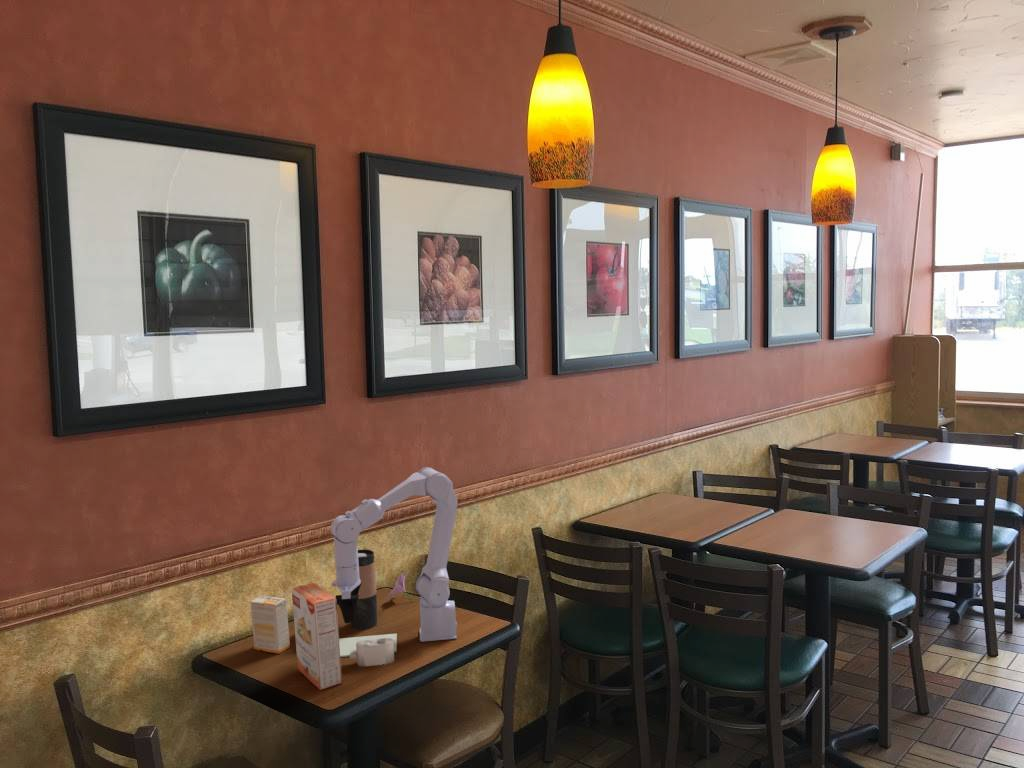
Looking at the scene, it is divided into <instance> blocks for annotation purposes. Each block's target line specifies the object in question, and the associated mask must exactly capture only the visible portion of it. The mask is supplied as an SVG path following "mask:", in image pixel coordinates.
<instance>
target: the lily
mask: <svg viewBox="0 0 1024 768" xmlns="http://www.w3.org/2000/svg"><path fill="white" fill-rule="evenodd" d="M410 571H412V568H410V569H409V570H408V571H407V572H406V573H405V575H404V573H403V572H401V574H400V575H399V576H398V578H397V580H396V582H393V584H392V586H394V588H392V590H391V591H390V593H389V594H388V595H387V596H386V598H385V599H384V601H383V603H381V605H384V604H385V602H386V601H387V600H388V599H389V597H391V596H392V598H394V597H395V596H396V594H400V593H405V594H406V595H407V596H408V598H409V599H410V600H411V602H412V603H414V601H413V598H412V597H411V595H409V593H408V592H407V591H406V588H405V587H406V586H405V581H406V578H407V576H408V574H409V573H410Z"/></svg>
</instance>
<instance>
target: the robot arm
mask: <svg viewBox="0 0 1024 768" xmlns="http://www.w3.org/2000/svg"><path fill="white" fill-rule="evenodd" d="M453 486H454V485H453V480H451V479H450V478H449V477H448V476H447V475H446V474H444V473H442V472H440V471H437V470H435V469H434V468H433V467H430V466H429V467H423V468H420V469H419V470H418V472H417V471H416V472H414V473H412V474H411V475H409V477H408V478H407V479H405V480H404V481H401V482H400V483H399V484H398V485H396V486H395V487H394V488H392V489H391V490H389V491H388V492H386V493H385V494H384V495H382V496H381V497H379V498H378V499H375V498H369V499H363V500H362V501H361V504H360V505H358V506H356V507H355V508H354V509H352V510H347V511H345V515H344V514H343V515H341V514H340V515H338V516H337V517H335V518H334V519H333V521H332V522H331V525H330V527H329V531H330V533H331V534H332V536H334V537H333V544H334V547H333V552H334V554H333V555H334V565H335V578H336V580H333V581H331V586H332V587H336V588H337V590H339V591H340V592H341V594H338V595H335V597H334V598H336V603H337V605H338V607H339V609H340V612H341V615H342V620H343V621H344V624H351V623H353V622H354V616H355V611H356V607H357V600H358V598H359V595H358V592H359V589H360V586H361V580H360V577H359V562H358V550H359V548H358V542H357V539H358V538H359V535H360V533H361V532H363V531H365V530H366V529H368V528H369V527H370V526H373V525H374V524H375V523H377V522H379V521H380V520H381V519H383V518H384V515H385V512H386V511H387V510H389V509H390V508H392V507H394V506H396V505H398V504H399V503H401V502H402V501H404V500H406V499H408V498H410V497H411V496H419V497H426V496H427V495H428V496H429V497H430V499H431V500H432V501H433V503H435V504H436V509H435V515H434V520H433V526H432V531H431V536H430V542H429V549H428V554H427V559H426V564H425V565H424V566H423V567H422V569H421V573H420V576H418V578H417V580H416V583H415V589H416V592H417V593H418V594H419V595H420V598H419V615H420V617H419V618H420V619H419V620H420V628H419V631H418V632H419V642H422V643H424V642H434V641H444V640H456V639H457V628H458V622H457V621H456V620H457V619H456V605H455V603H456V602H455V600H448V599H449V598H450V595H451V594H450V593H451V591H450V587H449V581H450V577H449V574H448V570H447V565H448V559H449V554H450V549H451V545H452V537H453V531H454V528H455V527H454V526H455V520H456V516H457V510H458V497H457V496H456V492H455V490H454V487H453Z"/></svg>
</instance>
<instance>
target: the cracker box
mask: <svg viewBox="0 0 1024 768" xmlns="http://www.w3.org/2000/svg"><path fill="white" fill-rule="evenodd" d="M291 597H292V599H291V600H292V608H293V609H292V611H293V622H294V633H295V635H294V637H295V648H296V657H297V658H296V661H297V670H298V671H299V672H300V673H301V674H302V675H304V677H306V679H307V680H308V681H310V682H311V684H313V685H314V686H315V687H316V688H317V689H318V690H319V691H322V690H325V689H329V688H333V687H335V686H338V685H340V684H342V683H343V679H342V678H343V677H342V663H341V657H340V647H339V639H340V635H339V634H340V633H339V621H338V619H339V618H338V607H337V605H338V603H337V602H336V598H335V597H334V596H333V595H332V594H330V593H328V592H327V591H326V590H324V589H322V588H321V587H320V586H318V585H317V584H315V582H312V583H309V584H303V585H299V586H295V587H292V588H291Z"/></svg>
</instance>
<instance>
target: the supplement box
mask: <svg viewBox="0 0 1024 768" xmlns="http://www.w3.org/2000/svg"><path fill="white" fill-rule="evenodd" d="M249 603H250V611H251V612H250V613H251V625H252V636H253V637H252V639H253V649H254V650H255V649H257V650H256V651H260V650H263V651H262V652H268V653H272V654H273V653H274V654H277V655H278V654H281V653H282V652H284V651H286V650H287V649H289V648H290V647H291V642H290V630H289V629H290V628H289V618H288V608H287V607H288V605H287V604H288V603H287V598H282V597H276V596H268V595H260V596H258V597H256V598H254V599H253V600H250V602H249Z"/></svg>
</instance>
